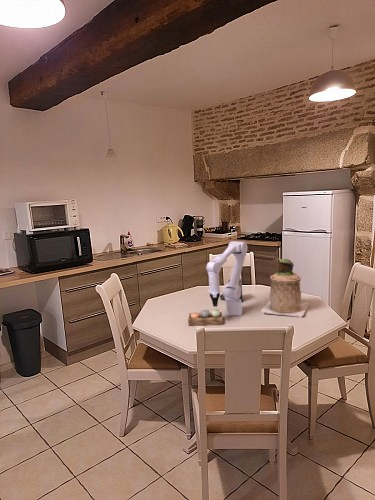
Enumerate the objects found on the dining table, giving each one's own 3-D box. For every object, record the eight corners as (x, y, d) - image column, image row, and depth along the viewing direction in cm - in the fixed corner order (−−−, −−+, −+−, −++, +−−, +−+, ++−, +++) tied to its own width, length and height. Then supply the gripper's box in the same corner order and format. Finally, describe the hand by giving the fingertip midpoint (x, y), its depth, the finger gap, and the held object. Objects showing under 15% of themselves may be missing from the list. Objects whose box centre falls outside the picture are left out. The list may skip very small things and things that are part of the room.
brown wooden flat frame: (221, 317, 207) (221, 312, 206) (222, 324, 195) (222, 319, 194) (189, 318, 208) (189, 313, 208) (188, 326, 196) (188, 320, 196)
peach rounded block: (199, 318, 204) (198, 312, 203) (198, 321, 199) (198, 315, 199) (191, 318, 204) (191, 312, 204) (190, 321, 200) (190, 315, 199)
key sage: (219, 315, 203) (219, 309, 202) (220, 318, 198) (219, 312, 198) (211, 315, 203) (211, 309, 202) (211, 318, 198) (211, 312, 198)
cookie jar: (304, 318, 197) (303, 262, 192) (260, 314, 208) (259, 261, 203) (308, 304, 219) (308, 254, 214) (269, 302, 230) (268, 253, 225)
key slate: (209, 315, 203) (209, 309, 203) (209, 318, 199) (209, 312, 198) (201, 316, 203) (201, 310, 203) (201, 318, 199) (200, 312, 198)
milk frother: (242, 303, 229) (242, 281, 227) (218, 303, 232) (217, 282, 230) (243, 297, 243) (242, 276, 241) (220, 297, 246) (219, 276, 243)
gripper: (207, 280, 205) (208, 302, 207) (206, 286, 191) (208, 310, 193) (219, 279, 204) (220, 302, 206) (219, 286, 190) (221, 310, 192)
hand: (215, 306), depth 199 cm, fingers closed
